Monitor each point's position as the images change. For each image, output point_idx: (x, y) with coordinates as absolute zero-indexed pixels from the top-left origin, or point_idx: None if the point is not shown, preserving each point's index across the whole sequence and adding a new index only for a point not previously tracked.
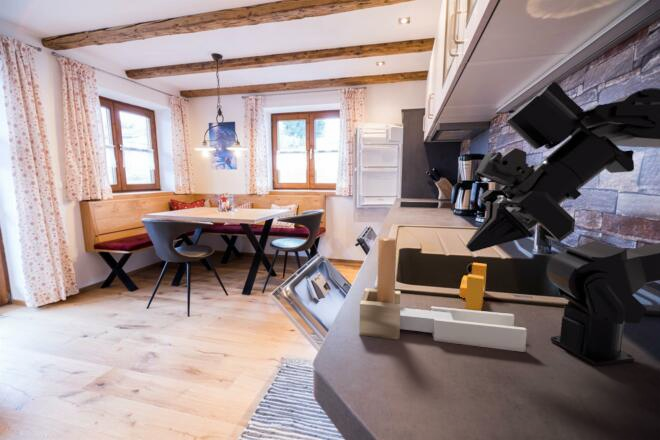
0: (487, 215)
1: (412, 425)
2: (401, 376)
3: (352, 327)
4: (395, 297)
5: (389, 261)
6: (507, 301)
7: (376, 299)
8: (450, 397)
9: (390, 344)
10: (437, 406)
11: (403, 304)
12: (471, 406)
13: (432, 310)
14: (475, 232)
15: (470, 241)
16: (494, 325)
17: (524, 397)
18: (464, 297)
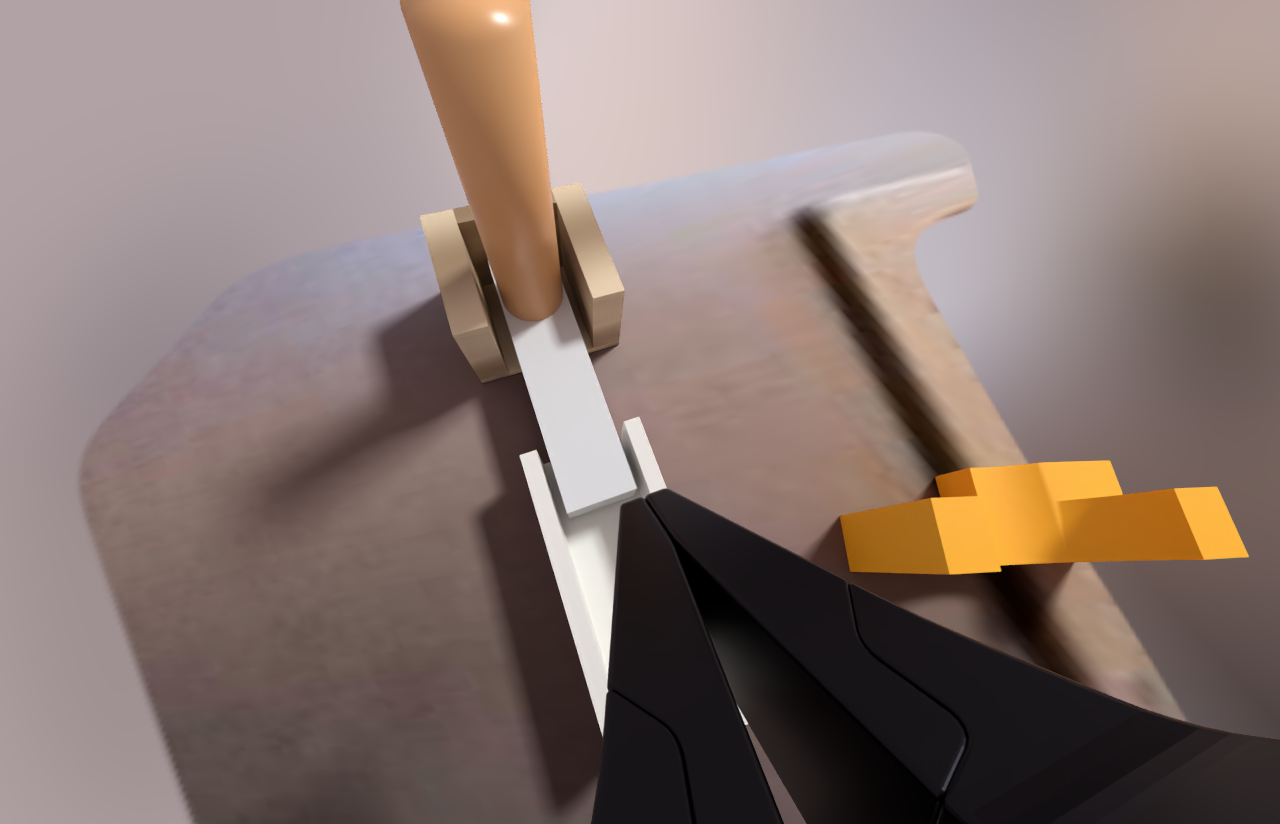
0: (1147, 772)
1: (117, 517)
2: (298, 442)
3: None
4: (586, 292)
5: (452, 151)
6: (1042, 658)
7: (567, 245)
8: (255, 573)
9: (445, 370)
10: (206, 552)
11: (735, 324)
12: (237, 628)
13: (623, 427)
14: (768, 550)
15: (654, 520)
16: (592, 659)
17: (336, 759)
18: (943, 495)
